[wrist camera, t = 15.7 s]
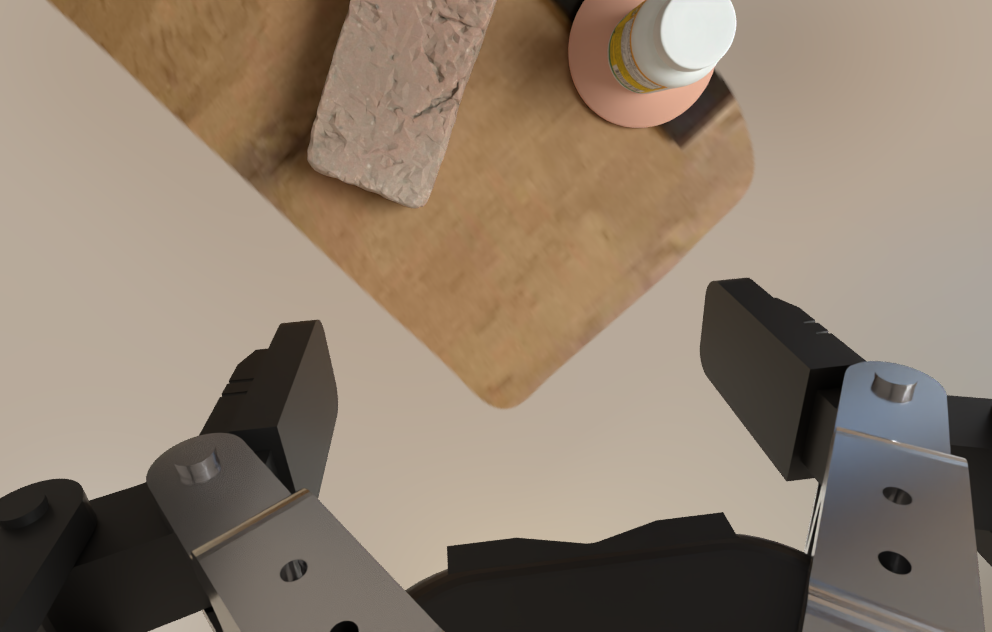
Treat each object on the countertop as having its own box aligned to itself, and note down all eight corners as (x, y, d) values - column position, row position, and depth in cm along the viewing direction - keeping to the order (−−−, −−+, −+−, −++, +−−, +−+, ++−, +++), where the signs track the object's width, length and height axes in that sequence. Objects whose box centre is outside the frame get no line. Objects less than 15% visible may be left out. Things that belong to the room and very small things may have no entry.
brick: (428, 208, 43) (423, 217, 39) (315, 167, 42) (295, 171, 38) (509, -33, 39) (514, -55, 34) (386, -86, 38) (374, -116, 33)
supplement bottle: (604, 95, 40) (642, 85, 31) (606, 8, 39) (647, -31, 30) (683, 93, 41) (744, 81, 31) (688, 5, 39) (754, -34, 30)
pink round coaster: (537, 57, 40) (538, 56, 40) (641, -71, 38) (643, -74, 38) (642, 158, 42) (644, 158, 42) (746, 41, 40) (749, 40, 40)
